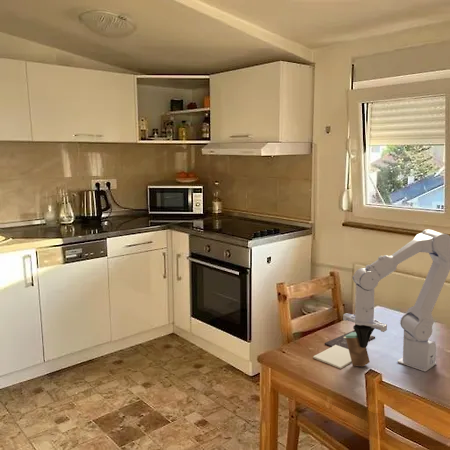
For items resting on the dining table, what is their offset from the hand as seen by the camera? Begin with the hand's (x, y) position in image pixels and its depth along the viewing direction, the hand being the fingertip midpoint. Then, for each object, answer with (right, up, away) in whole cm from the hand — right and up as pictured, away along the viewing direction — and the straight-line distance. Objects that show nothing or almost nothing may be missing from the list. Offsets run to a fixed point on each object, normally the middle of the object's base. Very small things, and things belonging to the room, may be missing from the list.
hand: (363, 346), depth 147 cm
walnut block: (0, -6, +2) cm, 6 cm away
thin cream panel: (-6, -6, +8) cm, 12 cm away
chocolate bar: (+1, -4, +21) cm, 21 cm away
